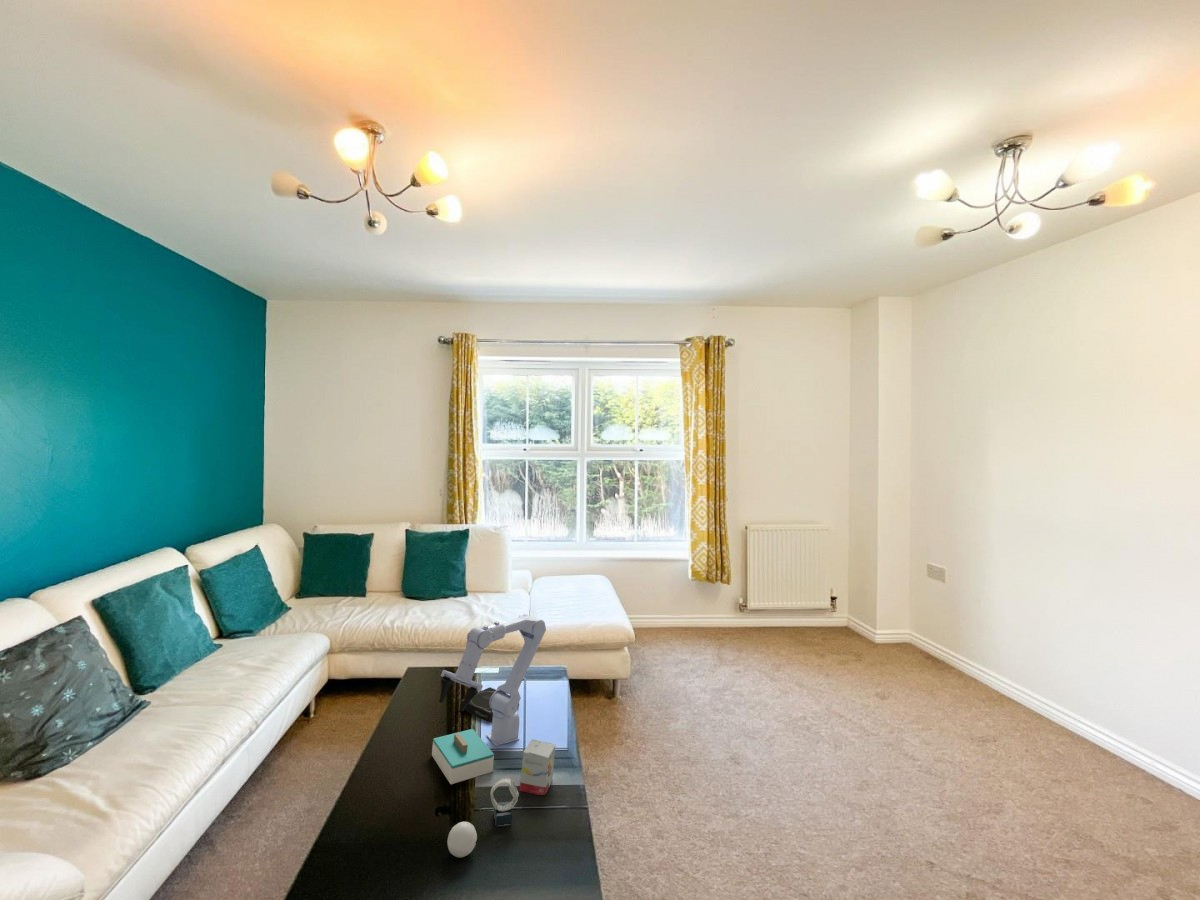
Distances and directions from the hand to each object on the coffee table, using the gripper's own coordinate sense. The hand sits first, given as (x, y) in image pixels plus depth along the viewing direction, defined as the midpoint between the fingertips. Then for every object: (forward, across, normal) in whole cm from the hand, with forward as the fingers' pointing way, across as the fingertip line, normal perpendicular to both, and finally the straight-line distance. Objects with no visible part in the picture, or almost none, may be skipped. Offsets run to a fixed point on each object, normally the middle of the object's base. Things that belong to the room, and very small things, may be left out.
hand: (451, 706), depth 169 cm
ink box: (+12, +35, +3) cm, 37 cm away
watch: (+19, +30, -13) cm, 38 cm away
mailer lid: (+11, +7, +7) cm, 15 cm away
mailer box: (+16, +8, +8) cm, 20 cm away
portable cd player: (+3, +2, +45) cm, 45 cm away
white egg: (+25, +24, -25) cm, 43 cm away
